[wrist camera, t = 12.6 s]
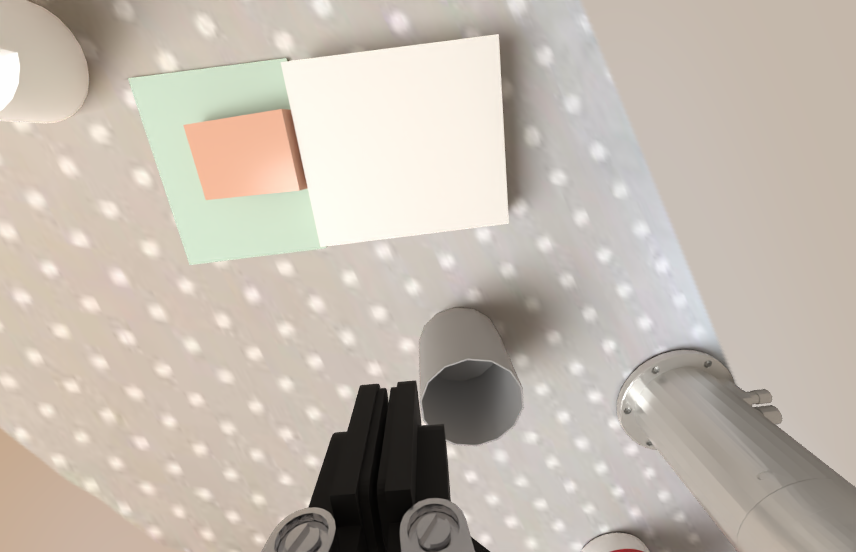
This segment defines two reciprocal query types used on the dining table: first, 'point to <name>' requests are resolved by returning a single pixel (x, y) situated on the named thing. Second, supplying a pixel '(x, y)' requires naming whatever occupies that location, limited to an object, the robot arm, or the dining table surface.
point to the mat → (194, 215)
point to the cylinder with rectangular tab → (39, 65)
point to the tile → (247, 155)
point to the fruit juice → (616, 544)
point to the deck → (401, 139)
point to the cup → (467, 378)
